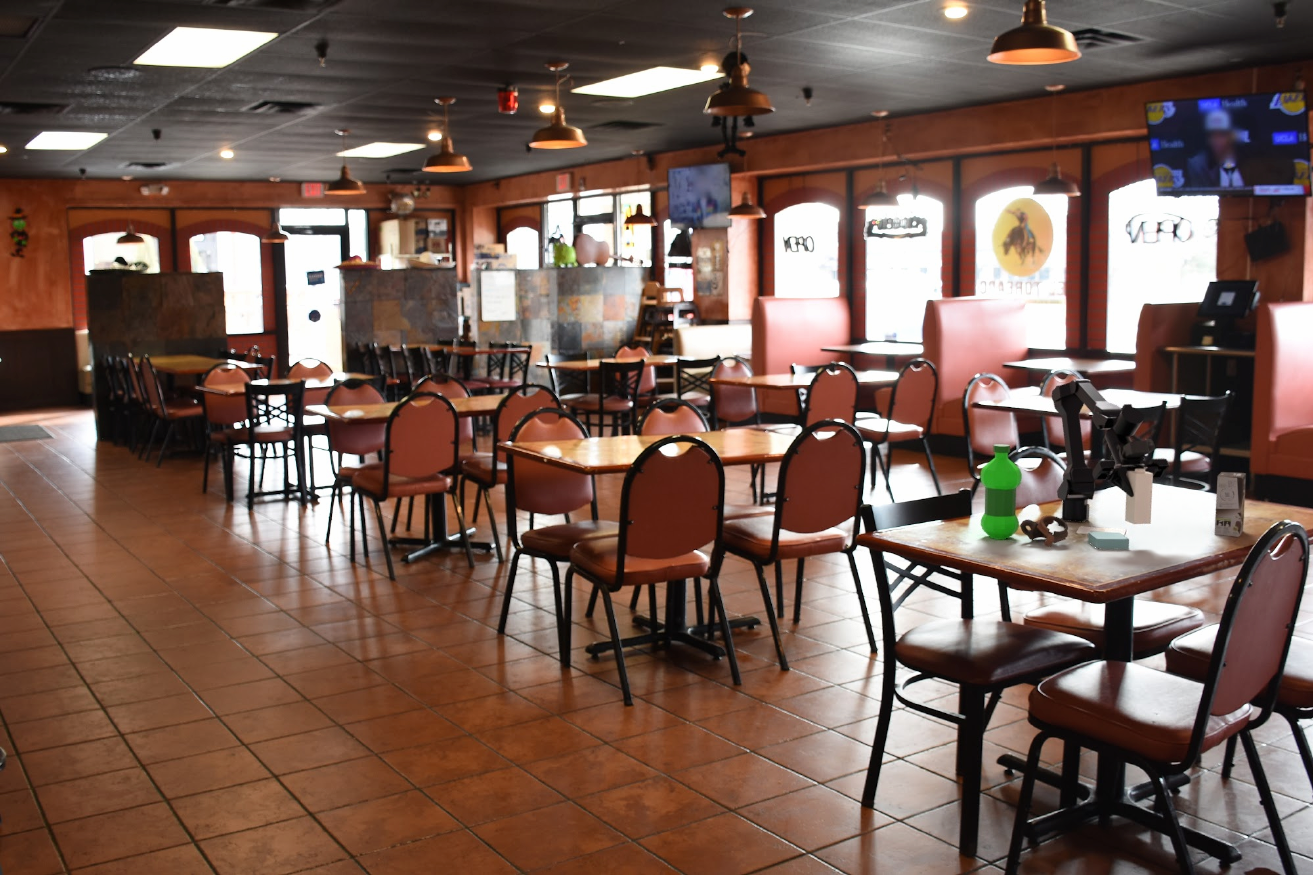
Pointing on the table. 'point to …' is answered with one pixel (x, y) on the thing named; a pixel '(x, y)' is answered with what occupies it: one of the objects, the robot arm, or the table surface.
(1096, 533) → the base brick
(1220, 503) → the coffee box
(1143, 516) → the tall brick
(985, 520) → the plastic bottle
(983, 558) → the table surface
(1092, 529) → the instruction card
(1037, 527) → the brown curved loop piece
